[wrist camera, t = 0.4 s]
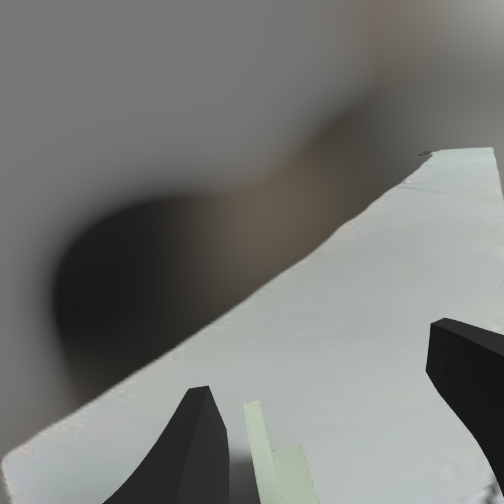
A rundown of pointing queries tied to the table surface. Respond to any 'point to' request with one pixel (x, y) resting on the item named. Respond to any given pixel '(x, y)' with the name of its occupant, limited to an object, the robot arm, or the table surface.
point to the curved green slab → (277, 465)
